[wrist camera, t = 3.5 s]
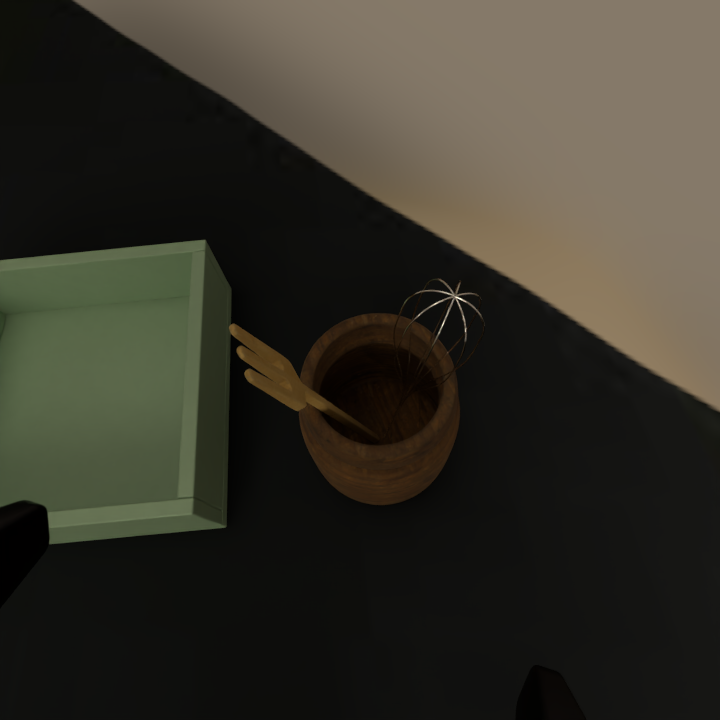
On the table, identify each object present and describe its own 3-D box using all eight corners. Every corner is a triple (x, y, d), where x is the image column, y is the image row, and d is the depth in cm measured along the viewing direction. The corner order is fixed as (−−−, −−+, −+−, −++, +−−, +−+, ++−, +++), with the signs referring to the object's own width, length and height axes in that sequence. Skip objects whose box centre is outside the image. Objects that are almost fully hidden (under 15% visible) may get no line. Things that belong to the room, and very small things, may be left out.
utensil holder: (473, 474, 22) (559, 359, 11) (335, 534, 21) (278, 475, 10) (414, 358, 24) (437, 166, 13) (288, 408, 23) (201, 250, 12)
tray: (226, 527, 21) (192, 514, 18) (-50, 553, 22) (-142, 546, 18) (231, 288, 26) (205, 238, 22) (5, 311, 26) (-58, 265, 23)
